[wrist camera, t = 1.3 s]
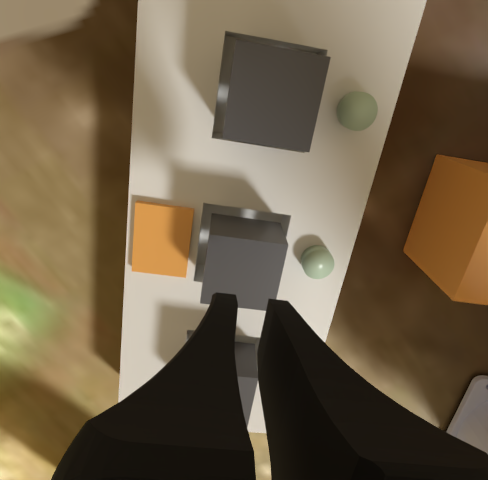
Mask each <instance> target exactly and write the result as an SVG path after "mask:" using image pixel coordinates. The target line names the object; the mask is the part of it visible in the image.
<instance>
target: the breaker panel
mask: <svg viewBox="0 0 488 480" xmlns="http://www.w3.org/2000/svg"><path fill="white" fill-rule="evenodd" d="M426 1H427V0H138V12H137V33H136V53H135V73H134V94H133V114H132V135H131V155H130V176H129V196H128V217H127V237H126V258H125V278H124V299H123V319H122V340H121V360H120V381H119V401H118V403H119V402H120V401H122V400H123V399H125V398H126V397H127V396H129V395H130V394H131V393H133V392H134V391H135V390H137V389H138V388H140V387H141V386H142V385H144V384H145V383H146V382H147V381H149V380H150V379H151V378H152V377H153V376H154V375H156V374H157V373H158V372H159V371H160V370H161V369H162V368H163V367H164V366H165V365H166V364H167V363H168V362H169V361H170V360H171V359H172V358H173V357H174V356H175V355H176V354H177V353H178V352H179V350H180V349H181V348H182V347H183V346H184V344H185V343H186V342H187V340H188V339H189V338H190V336H191V335H192V334H193V332H194V331H195V330H196V328H197V327H198V325H199V323H200V322H201V320H202V319H203V317H204V315H205V313H206V311H207V309H208V307H209V305H210V304H202V303H200V298H201V289H202V281H203V273H204V265H205V258H206V251H207V243H208V236H209V229H210V222H211V214H212V213H214V214H222V215H229V216H236V217H243V218H250V219H258V220H265V221H272V222H279V223H281V226H282V229H283V231H284V234H285V237H286V239H287V242H288V249H287V254H286V258H285V263H284V267H283V272H282V276H281V280H280V285H279V289H278V294H277V298H276V299H277V300H285V301H289V303H290V304H291V305H292V306H293V307H294V308H295V309H296V311H297V312H298V313H299V314H300V315H301V317H302V318H303V319H304V320H305V321H306V322H307V324H308V325H309V326H310V327H311V328H312V329H313V331H314V332H315V333H316V334H317V335H318V336H319V337H320V338H321V339H322V340H323V341H324V342H325V341H326V338H327V335H328V331H329V328H330V324H331V321H332V318H333V314H334V311H335V308H336V304H337V301H338V297H339V294H340V291H341V287H342V284H343V281H344V277H345V274H346V271H347V267H348V264H349V260H350V257H351V254H352V250H353V247H354V244H355V240H356V237H357V233H358V230H359V227H360V223H361V220H362V217H363V213H364V210H365V206H366V203H367V200H368V196H369V193H370V190H371V186H372V183H373V179H374V176H375V173H376V169H377V166H378V163H379V159H380V156H381V152H382V149H383V146H384V142H385V139H386V136H387V132H388V129H389V126H390V122H391V119H392V115H393V112H394V109H395V105H396V102H397V99H398V95H399V92H400V88H401V85H402V82H403V78H404V75H405V72H406V68H407V65H408V61H409V58H410V55H411V51H412V48H413V45H414V41H415V38H416V34H417V31H418V28H419V24H420V21H421V18H422V14H423V11H424V7H425V4H426ZM236 39H237V40H242V41H248V42H253V43H259V44H264V45H269V46H275V47H280V48H285V49H291V50H296V51H302V52H307V53H312V54H318V55H323V56H328V57H331V59H330V63H329V67H328V72H327V76H326V81H325V85H324V90H323V94H322V98H321V103H320V107H319V112H318V116H317V121H316V125H315V130H314V134H313V138H312V143H311V147H310V152H303V151H297V150H291V149H285V148H278V147H272V146H266V145H259V144H253V143H247V142H241V141H234V140H228V139H223V127H224V119H225V112H226V105H227V97H228V90H229V83H230V76H231V68H232V61H233V54H234V46H235V42H236ZM265 313H266V311H262V310H254V309H245V308H238V312H237V323H236V334H235V342H243V343H253V344H255V351H256V360H257V350H258V346H259V341H260V337H261V332H262V327H263V323H264V318H265ZM257 370H258V362H257ZM247 429H248V432H257V433H266V427H265V421H264V415H263V409H262V403H261V396H260V390H259V383H257V387H256V391H255V396H254V400H253V405H252V409H251V414H250V418H249V423H248V427H247Z"/></svg>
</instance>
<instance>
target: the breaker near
mask: <svg viewBox="0 0 488 480" xmlns="http://www.w3.org/2000/svg"><path fill="white" fill-rule="evenodd" d="M330 59H331V57H328V56H323V55H318V54H312V53H307V52H302V51H296V50H291V49H285V48H280V47H275V46H269V45H264V44H259V43H253V42H248V41H242V40H237V39H236V42H235V46H234V54H233V61H232V68H231V76H230V83H229V90H228V97H227V105H226V112H225V119H224V127H223V139H228V140H234V141H241V142H247V143H253V144H259V145H266V146H272V147H278V148H285V149H291V150H297V151H303V152H310V147H311V143H312V138H313V134H314V130H315V125H316V121H317V116H318V112H319V107H320V103H321V98H322V94H323V90H324V85H325V81H326V76H327V72H328V67H329V63H330Z"/></svg>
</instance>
